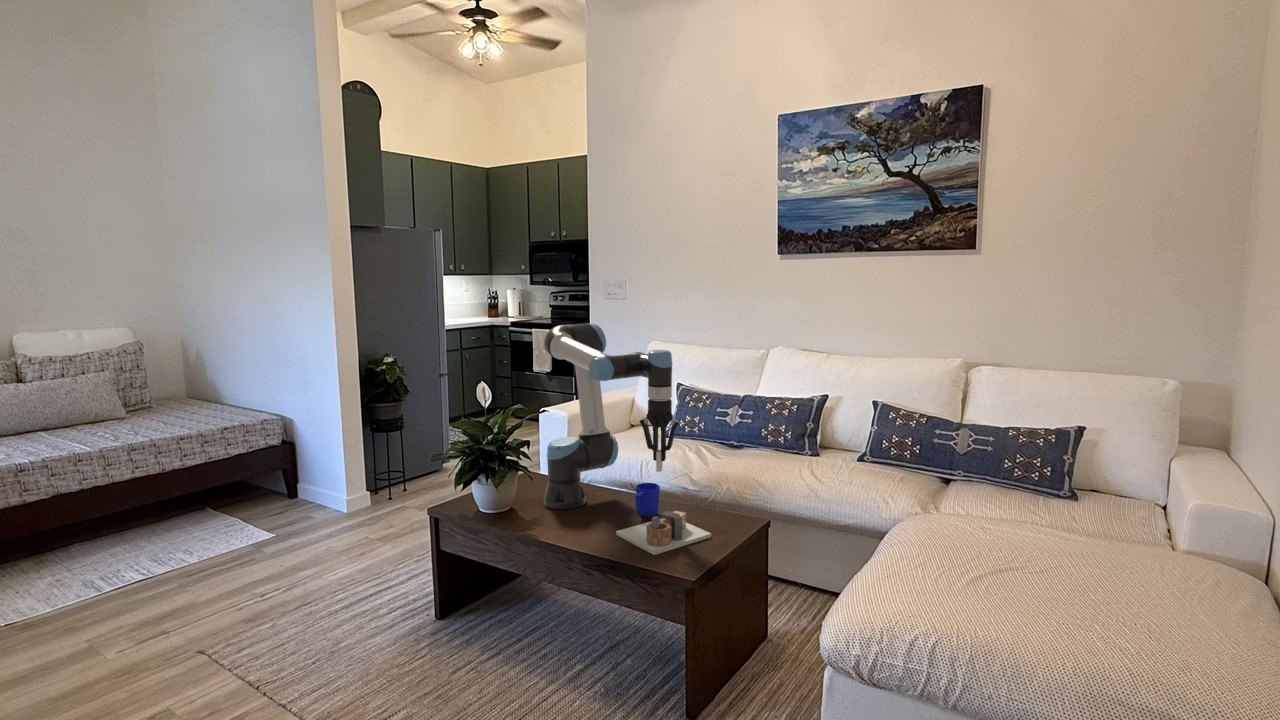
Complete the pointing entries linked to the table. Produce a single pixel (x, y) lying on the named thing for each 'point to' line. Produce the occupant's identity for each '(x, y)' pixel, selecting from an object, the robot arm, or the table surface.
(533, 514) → the table surface
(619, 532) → the board
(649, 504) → the mug
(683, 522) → the link
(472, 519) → the table surface
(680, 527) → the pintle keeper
